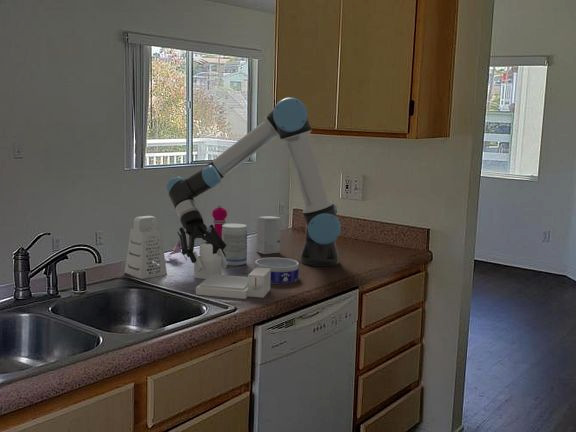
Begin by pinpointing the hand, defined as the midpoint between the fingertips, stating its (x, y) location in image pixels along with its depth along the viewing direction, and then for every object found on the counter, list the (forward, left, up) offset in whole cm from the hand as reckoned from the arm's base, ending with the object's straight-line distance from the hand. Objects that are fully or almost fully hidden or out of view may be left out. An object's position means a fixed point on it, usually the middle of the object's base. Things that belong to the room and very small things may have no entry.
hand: (213, 267), depth 222 cm
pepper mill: (+10, -42, -4) cm, 43 cm away
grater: (+24, 0, -4) cm, 25 cm away
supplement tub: (-1, -25, -4) cm, 25 cm away
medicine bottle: (+2, -2, -4) cm, 5 cm away
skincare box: (-9, -49, -4) cm, 50 cm away
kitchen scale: (-11, +12, -4) cm, 17 cm away
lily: (+22, -23, -4) cm, 32 cm away
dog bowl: (-21, -8, -4) cm, 23 cm away
